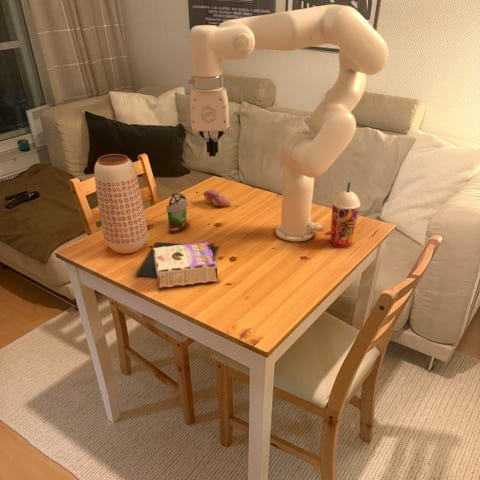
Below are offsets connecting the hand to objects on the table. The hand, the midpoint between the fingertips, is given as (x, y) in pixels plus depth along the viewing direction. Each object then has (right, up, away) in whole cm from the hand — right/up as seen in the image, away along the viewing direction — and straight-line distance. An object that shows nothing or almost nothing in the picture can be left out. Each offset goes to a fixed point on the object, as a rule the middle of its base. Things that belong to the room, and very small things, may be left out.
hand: (212, 154), depth 127 cm
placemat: (-11, -29, +10) cm, 32 cm away
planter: (-28, -24, +17) cm, 40 cm away
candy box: (0, -29, +4) cm, 30 cm away
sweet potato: (-1, -3, +43) cm, 43 cm away
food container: (-13, -15, +29) cm, 34 cm away
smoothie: (+40, -22, +19) cm, 49 cm away
